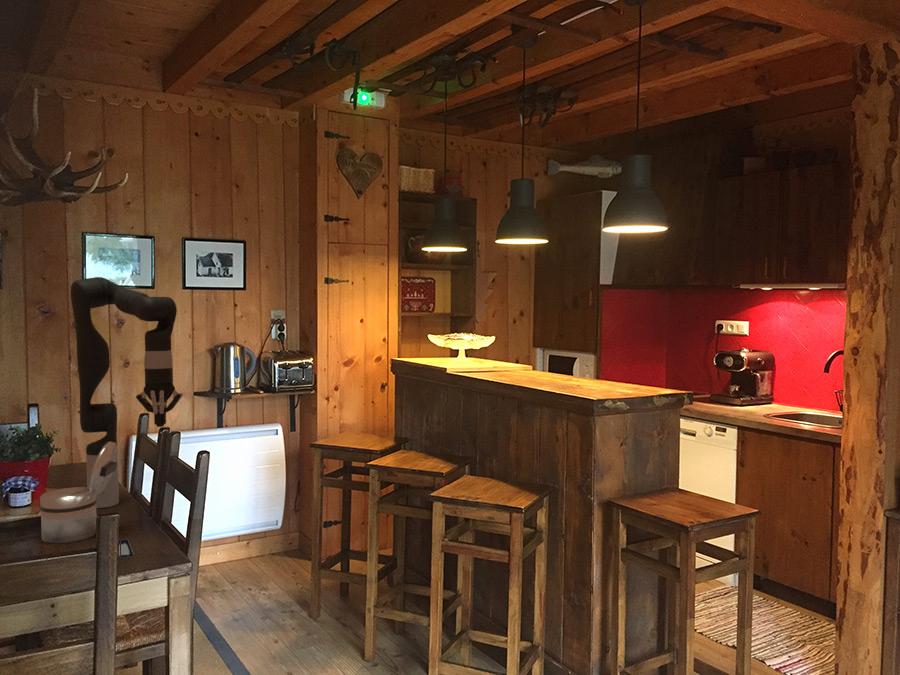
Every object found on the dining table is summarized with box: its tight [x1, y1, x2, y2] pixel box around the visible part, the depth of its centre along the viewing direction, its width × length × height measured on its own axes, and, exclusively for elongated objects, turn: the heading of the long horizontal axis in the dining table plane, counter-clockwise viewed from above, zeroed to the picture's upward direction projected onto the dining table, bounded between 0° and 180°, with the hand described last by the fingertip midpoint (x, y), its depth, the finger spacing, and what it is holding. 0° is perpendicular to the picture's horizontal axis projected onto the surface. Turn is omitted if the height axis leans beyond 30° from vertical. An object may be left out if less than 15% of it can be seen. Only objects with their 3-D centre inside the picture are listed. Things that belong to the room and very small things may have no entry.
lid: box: [89, 442, 119, 495], centre depth 211 cm, size 15×15×3 cm
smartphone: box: [118, 538, 135, 561], centre depth 197 cm, size 7×1×15 cm
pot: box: [39, 486, 98, 544], centre depth 210 cm, size 14×14×12 cm
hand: (160, 426), depth 213 cm, fingers closed
